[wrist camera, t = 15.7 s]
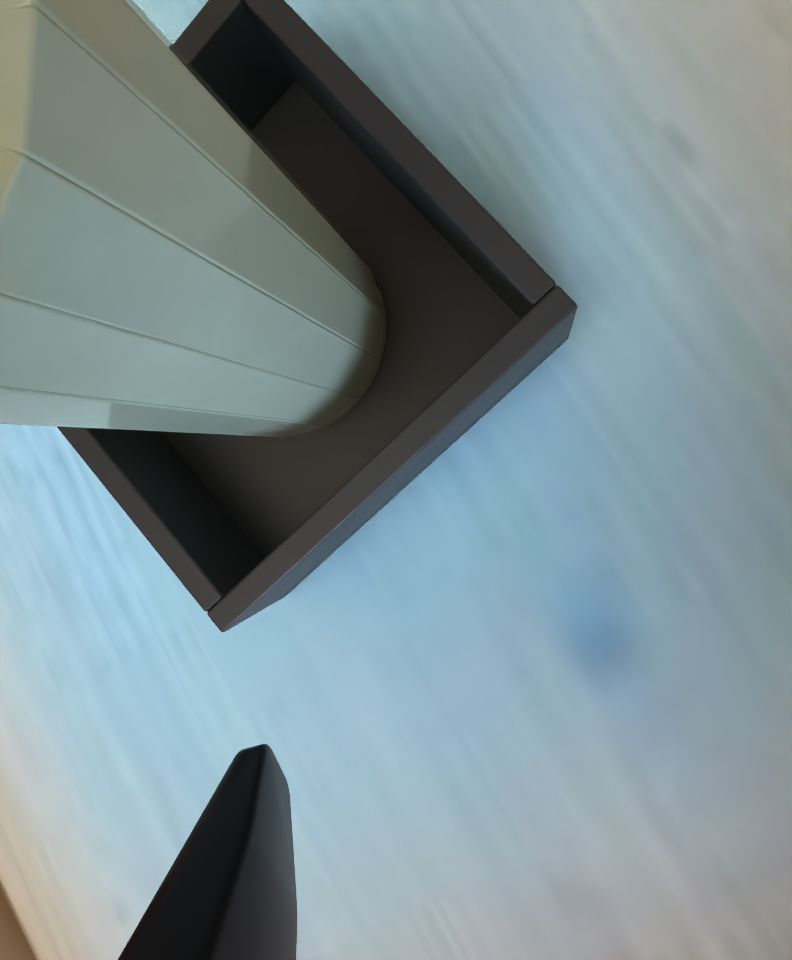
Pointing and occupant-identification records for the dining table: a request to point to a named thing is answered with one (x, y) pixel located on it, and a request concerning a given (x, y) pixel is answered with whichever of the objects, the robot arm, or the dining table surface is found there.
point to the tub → (409, 329)
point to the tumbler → (160, 246)
